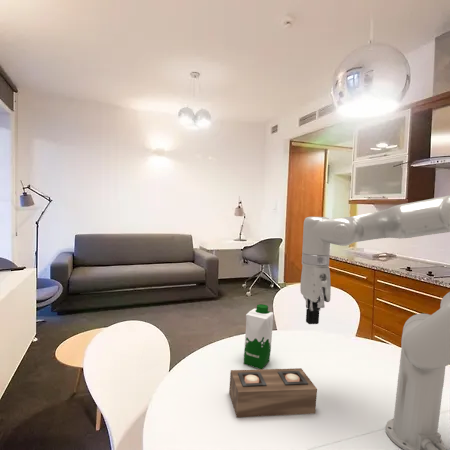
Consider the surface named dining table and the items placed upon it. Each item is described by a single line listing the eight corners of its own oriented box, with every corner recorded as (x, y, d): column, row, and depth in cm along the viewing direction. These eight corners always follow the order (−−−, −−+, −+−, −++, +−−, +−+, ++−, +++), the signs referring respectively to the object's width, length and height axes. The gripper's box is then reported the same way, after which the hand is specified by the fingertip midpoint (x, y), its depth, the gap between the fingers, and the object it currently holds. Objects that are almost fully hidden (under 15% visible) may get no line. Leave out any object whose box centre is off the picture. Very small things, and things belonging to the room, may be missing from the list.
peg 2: (299, 404, 93) (301, 380, 93) (286, 405, 93) (288, 380, 92) (294, 396, 97) (296, 372, 97) (281, 396, 97) (283, 373, 96)
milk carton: (272, 361, 119) (276, 306, 117) (263, 371, 111) (267, 313, 109) (250, 354, 123) (253, 301, 121) (239, 364, 115) (243, 308, 113)
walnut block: (315, 413, 91) (317, 387, 90) (236, 417, 87) (238, 390, 86) (299, 390, 101) (301, 367, 101) (229, 392, 98) (230, 368, 97)
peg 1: (258, 406, 91) (260, 381, 91) (244, 407, 91) (246, 382, 90) (255, 397, 95) (256, 373, 95) (241, 398, 95) (243, 374, 94)
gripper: (341, 264, 88) (338, 332, 89) (315, 255, 102) (312, 314, 103) (315, 264, 86) (312, 333, 87) (292, 255, 101) (289, 315, 102)
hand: (312, 323), depth 95 cm, fingers closed
